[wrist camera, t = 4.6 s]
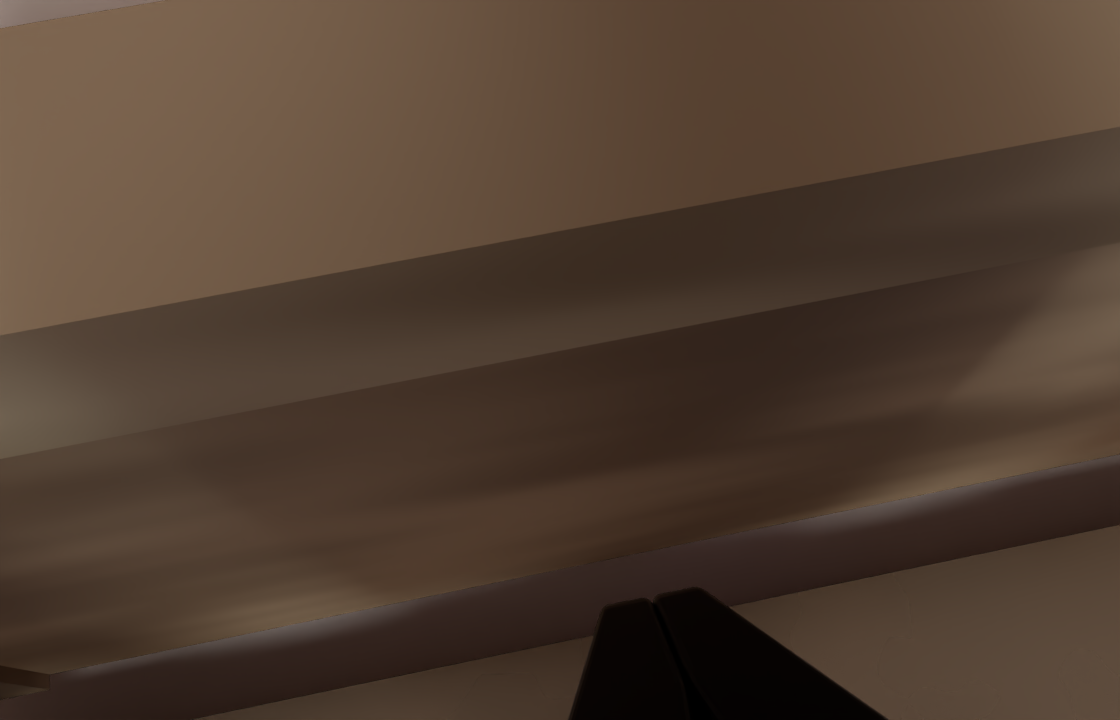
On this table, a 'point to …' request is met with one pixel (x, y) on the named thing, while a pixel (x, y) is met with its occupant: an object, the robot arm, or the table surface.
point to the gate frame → (846, 647)
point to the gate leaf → (523, 290)
